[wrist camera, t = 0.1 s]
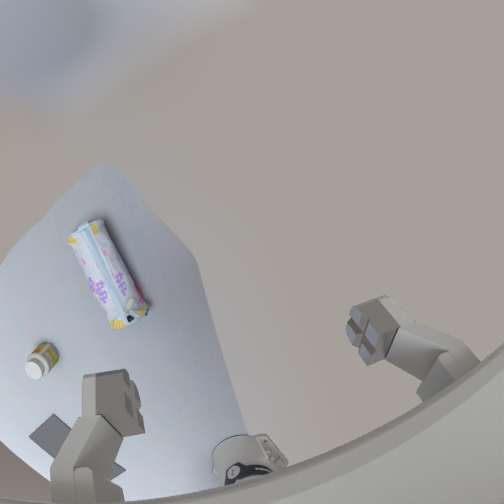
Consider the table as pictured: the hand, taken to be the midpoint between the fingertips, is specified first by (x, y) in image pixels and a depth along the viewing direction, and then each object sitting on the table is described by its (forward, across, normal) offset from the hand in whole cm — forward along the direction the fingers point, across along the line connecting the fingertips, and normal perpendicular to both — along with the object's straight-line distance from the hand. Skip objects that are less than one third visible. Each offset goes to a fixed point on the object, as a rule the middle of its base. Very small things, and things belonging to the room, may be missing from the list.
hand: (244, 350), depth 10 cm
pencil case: (+47, -16, -28) cm, 57 cm away
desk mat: (+26, -43, -67) cm, 83 cm away
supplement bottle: (+40, -36, -40) cm, 68 cm away
